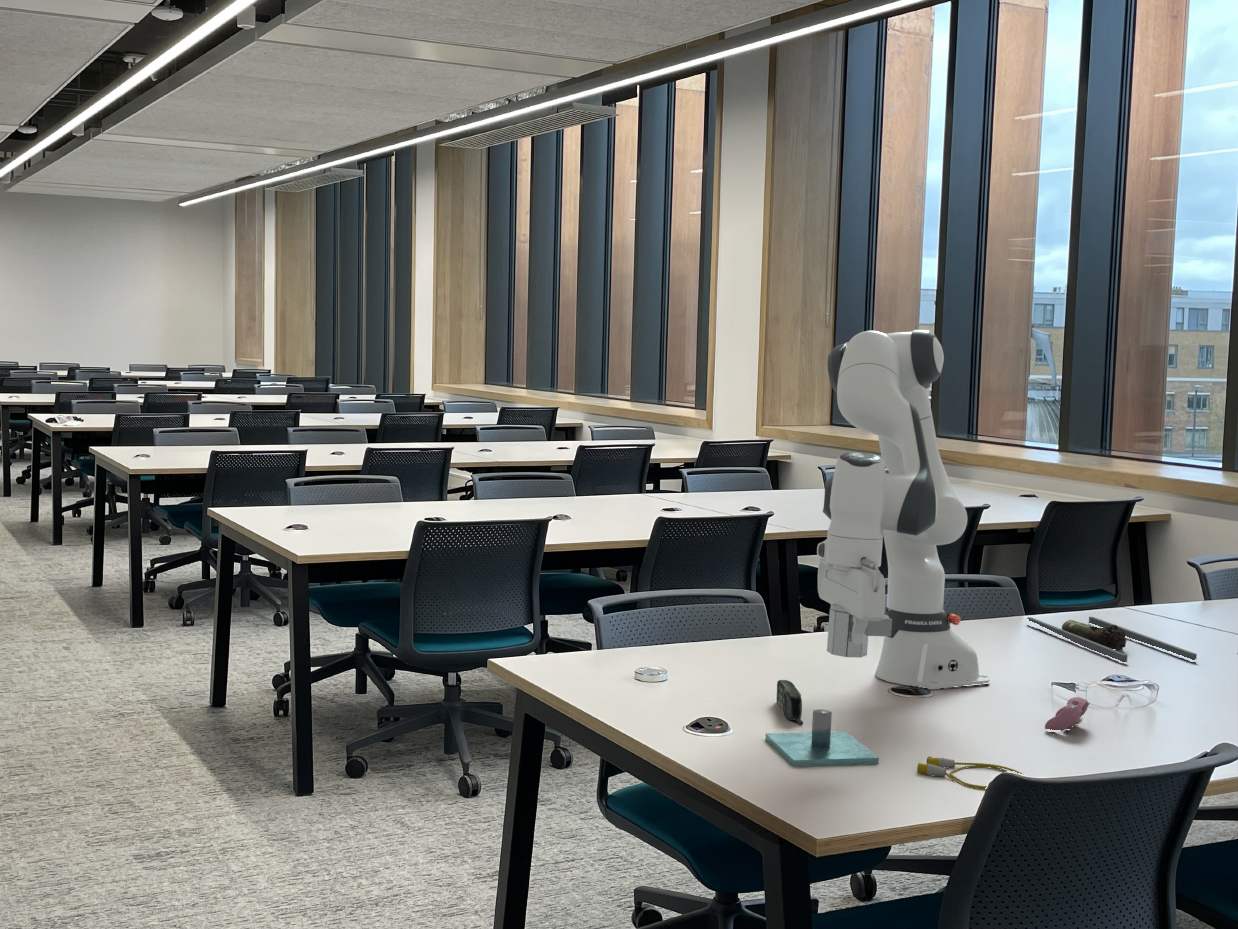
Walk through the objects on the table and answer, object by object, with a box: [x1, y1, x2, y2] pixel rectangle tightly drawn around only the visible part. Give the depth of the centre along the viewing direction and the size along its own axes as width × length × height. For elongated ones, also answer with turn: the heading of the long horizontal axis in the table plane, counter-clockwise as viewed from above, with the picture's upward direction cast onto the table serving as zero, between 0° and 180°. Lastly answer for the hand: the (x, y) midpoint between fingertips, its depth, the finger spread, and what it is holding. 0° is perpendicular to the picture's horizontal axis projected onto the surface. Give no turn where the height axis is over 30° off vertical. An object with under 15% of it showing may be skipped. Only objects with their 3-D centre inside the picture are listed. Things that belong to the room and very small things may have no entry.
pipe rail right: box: [1088, 616, 1198, 660], centre depth 292 cm, size 1×40×2 cm, turn 11°
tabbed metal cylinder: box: [826, 604, 892, 658], centre depth 201 cm, size 10×6×8 cm, turn 101°
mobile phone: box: [776, 679, 804, 726], centre depth 222 cm, size 5×3×15 cm
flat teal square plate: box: [765, 708, 880, 767], centre depth 200 cm, size 14×14×6 cm
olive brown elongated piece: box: [1061, 619, 1127, 651], centre depth 288 cm, size 18×7×6 cm, turn 19°
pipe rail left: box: [1026, 616, 1128, 663], centre depth 289 cm, size 1×40×2 cm, turn 11°
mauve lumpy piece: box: [1044, 696, 1090, 732], centre depth 218 cm, size 10×5×7 cm, turn 149°
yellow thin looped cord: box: [916, 756, 1023, 791], centre depth 191 cm, size 12×16×2 cm
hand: (847, 637), depth 201 cm, fingers closed on tabbed metal cylinder, 6 cm apart
